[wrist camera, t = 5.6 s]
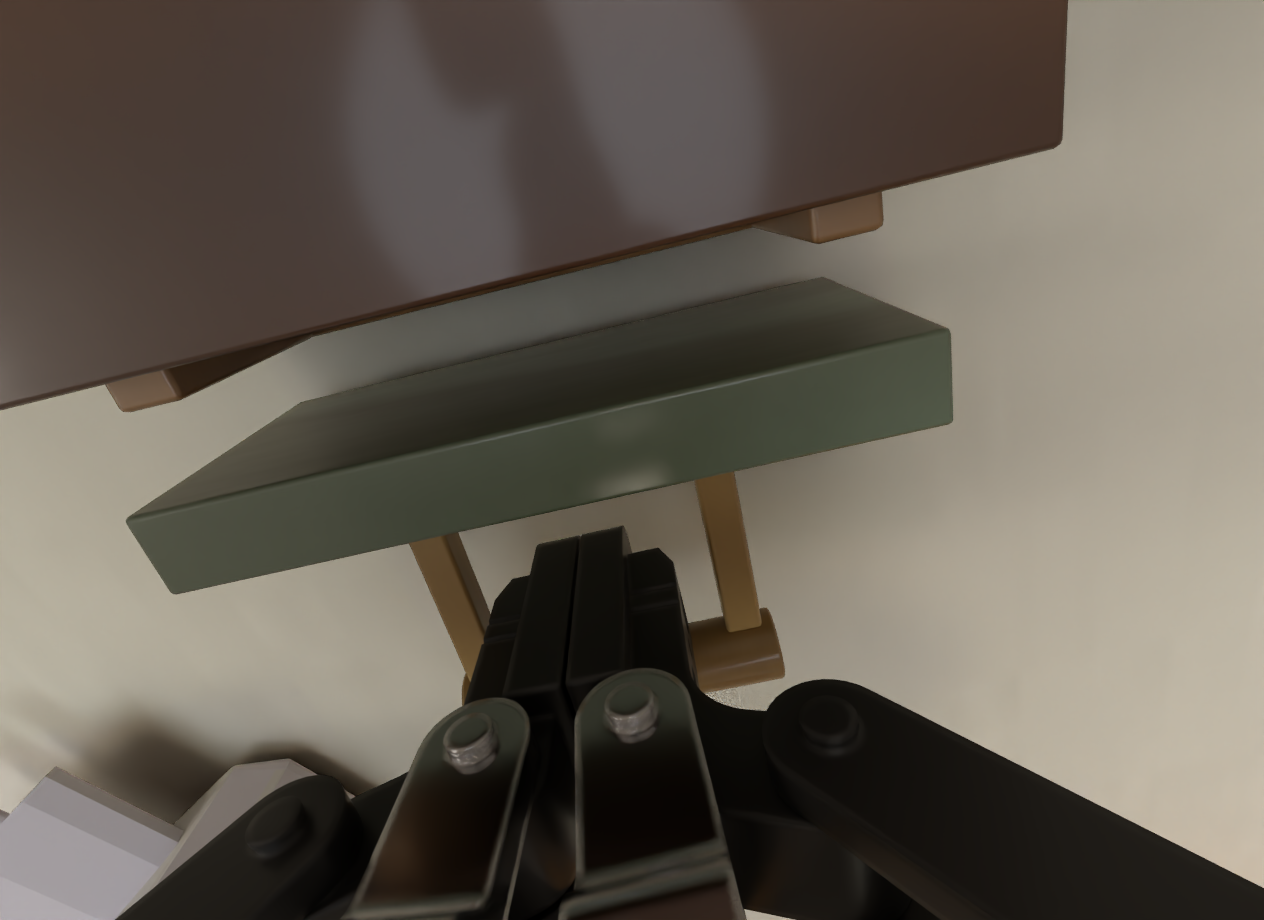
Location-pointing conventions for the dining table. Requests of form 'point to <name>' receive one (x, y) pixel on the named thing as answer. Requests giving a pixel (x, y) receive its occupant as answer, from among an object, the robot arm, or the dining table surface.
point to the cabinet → (448, 149)
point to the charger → (111, 842)
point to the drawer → (559, 441)
